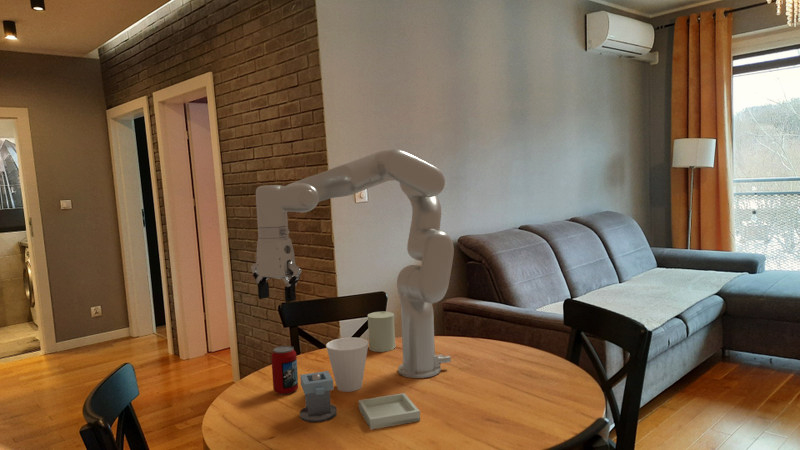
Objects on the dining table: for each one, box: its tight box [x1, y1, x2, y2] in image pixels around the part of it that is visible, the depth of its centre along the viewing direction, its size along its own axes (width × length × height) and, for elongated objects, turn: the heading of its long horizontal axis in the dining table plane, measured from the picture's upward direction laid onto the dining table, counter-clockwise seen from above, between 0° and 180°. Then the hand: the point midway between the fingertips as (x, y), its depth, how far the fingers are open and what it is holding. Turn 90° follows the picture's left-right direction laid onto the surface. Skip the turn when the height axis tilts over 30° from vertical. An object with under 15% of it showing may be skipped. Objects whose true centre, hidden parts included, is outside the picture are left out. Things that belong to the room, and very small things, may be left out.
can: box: [367, 311, 397, 353], centre depth 188 cm, size 9×9×12 cm
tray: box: [358, 392, 421, 430], centre depth 134 cm, size 12×12×2 cm
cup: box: [325, 337, 369, 393], centre depth 153 cm, size 12×12×12 cm
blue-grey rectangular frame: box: [299, 370, 335, 395], centre depth 135 cm, size 7×9×2 cm
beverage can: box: [271, 345, 299, 396], centre depth 152 cm, size 7×7×12 cm
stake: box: [299, 374, 338, 424], centre depth 136 cm, size 9×9×10 cm
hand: (277, 299), depth 143 cm, fingers open, 9 cm apart
